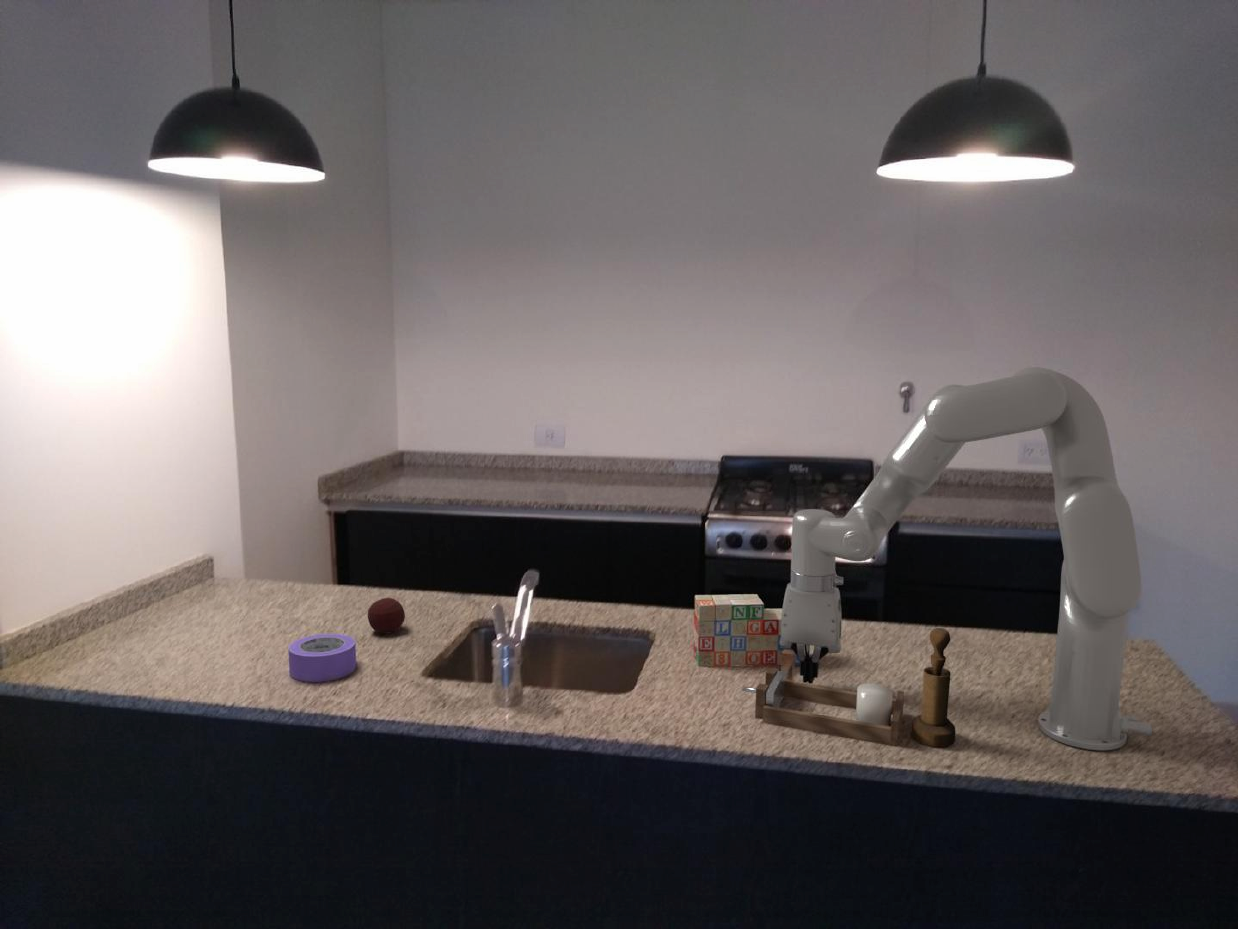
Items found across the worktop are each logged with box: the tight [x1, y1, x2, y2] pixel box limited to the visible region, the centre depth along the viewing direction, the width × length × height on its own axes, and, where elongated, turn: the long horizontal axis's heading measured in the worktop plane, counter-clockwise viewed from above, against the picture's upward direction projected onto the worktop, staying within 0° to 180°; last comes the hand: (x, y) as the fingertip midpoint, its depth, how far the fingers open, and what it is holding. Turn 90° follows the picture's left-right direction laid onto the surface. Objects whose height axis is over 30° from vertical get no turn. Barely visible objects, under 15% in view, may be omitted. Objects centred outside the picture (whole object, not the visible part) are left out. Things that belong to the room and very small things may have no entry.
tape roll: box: [288, 633, 357, 683], centre depth 166 cm, size 12×12×5 cm
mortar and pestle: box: [910, 627, 956, 748], centre depth 140 cm, size 7×6×18 cm
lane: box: [754, 667, 905, 747], centre depth 148 cm, size 22×12×5 cm, turn 68°
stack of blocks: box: [693, 593, 811, 667], centre depth 171 cm, size 21×6×12 cm, turn 93°
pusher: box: [741, 649, 795, 708], centre depth 155 cm, size 7×16×6 cm, turn 158°
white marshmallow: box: [855, 682, 894, 727], centre depth 145 cm, size 6×6×6 cm
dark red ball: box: [367, 597, 406, 634], centre depth 185 cm, size 7×8×7 cm
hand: (808, 680), depth 159 cm, fingers closed
